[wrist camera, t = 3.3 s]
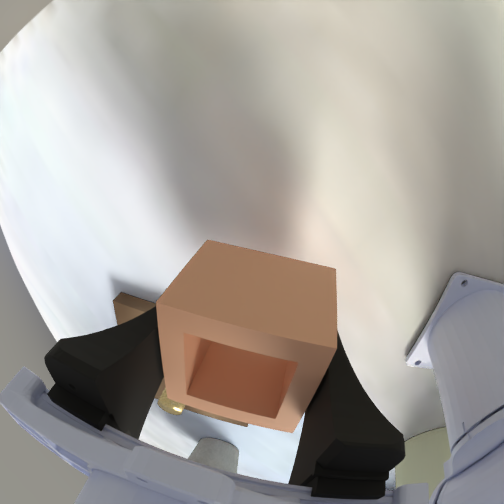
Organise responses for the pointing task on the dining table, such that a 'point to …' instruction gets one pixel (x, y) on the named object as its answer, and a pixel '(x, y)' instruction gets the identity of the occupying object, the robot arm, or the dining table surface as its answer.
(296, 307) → the open box
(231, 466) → the house plant
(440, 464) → the can
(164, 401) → the keeper
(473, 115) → the dining table surface
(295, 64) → the dining table surface
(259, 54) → the dining table surface
